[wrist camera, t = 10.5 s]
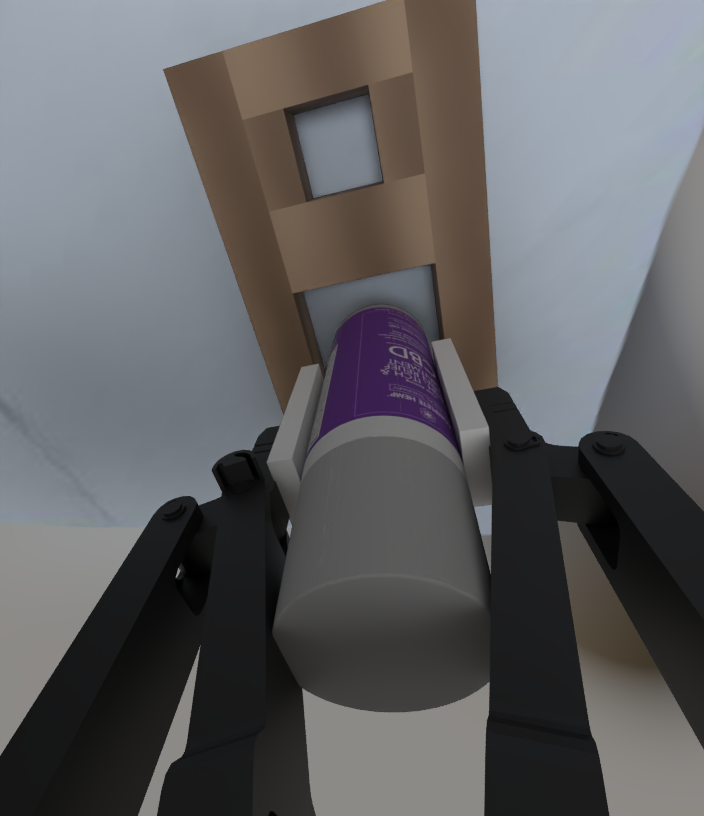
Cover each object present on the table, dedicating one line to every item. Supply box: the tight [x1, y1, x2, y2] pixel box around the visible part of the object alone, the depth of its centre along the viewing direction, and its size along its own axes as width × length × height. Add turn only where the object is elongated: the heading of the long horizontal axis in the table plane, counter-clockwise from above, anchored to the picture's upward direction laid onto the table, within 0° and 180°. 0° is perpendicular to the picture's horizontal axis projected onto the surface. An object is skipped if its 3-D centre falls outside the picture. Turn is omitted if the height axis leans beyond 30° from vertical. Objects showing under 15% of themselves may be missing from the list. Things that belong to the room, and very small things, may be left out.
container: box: [272, 304, 491, 712], centre depth 15 cm, size 5×5×15 cm
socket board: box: [163, 0, 498, 415], centre depth 21 cm, size 12×18×2 cm, turn 13°
